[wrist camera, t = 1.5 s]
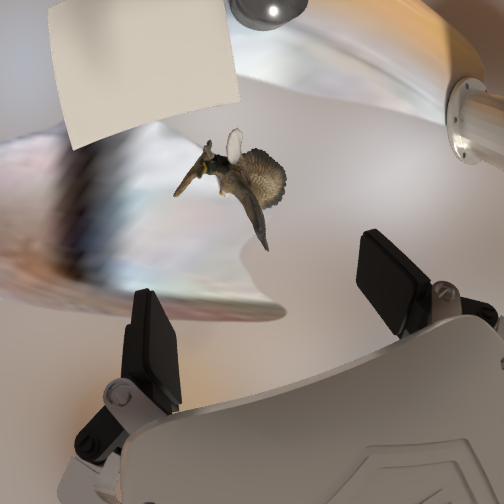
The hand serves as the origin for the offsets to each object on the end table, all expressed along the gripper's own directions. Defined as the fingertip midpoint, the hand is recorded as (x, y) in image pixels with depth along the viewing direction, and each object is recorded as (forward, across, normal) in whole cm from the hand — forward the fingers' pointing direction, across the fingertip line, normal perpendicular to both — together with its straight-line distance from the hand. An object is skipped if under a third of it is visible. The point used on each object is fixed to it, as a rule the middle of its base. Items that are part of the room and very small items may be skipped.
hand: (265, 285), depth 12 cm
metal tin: (+14, -6, -15) cm, 22 cm away
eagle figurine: (+15, -2, 0) cm, 15 cm away
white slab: (+15, +4, -13) cm, 20 cm away
